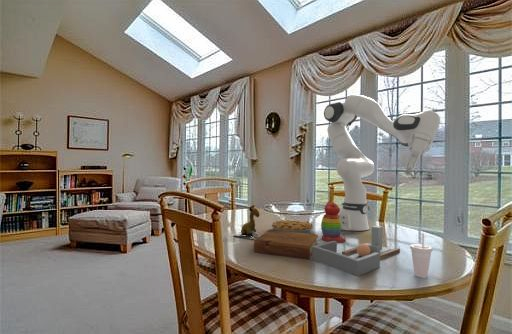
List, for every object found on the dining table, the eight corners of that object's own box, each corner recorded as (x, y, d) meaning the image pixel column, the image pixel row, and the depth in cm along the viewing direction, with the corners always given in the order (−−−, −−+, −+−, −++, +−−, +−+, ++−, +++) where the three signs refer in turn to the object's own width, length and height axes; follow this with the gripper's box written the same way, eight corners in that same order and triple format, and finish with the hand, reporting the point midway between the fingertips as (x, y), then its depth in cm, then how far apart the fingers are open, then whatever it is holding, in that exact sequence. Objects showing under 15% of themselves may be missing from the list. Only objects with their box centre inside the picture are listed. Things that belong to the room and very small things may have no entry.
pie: (317, 229, 158) (317, 220, 158) (307, 239, 138) (307, 228, 138) (279, 225, 167) (279, 216, 167) (265, 234, 147) (265, 224, 147)
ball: (354, 256, 113) (354, 243, 113) (361, 253, 116) (361, 241, 116) (365, 259, 109) (365, 246, 109) (372, 257, 112) (372, 244, 112)
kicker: (361, 251, 119) (361, 226, 118) (373, 247, 124) (373, 223, 124) (379, 256, 112) (379, 230, 112) (391, 251, 117) (391, 227, 117)
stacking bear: (347, 242, 132) (347, 203, 132) (326, 243, 131) (326, 204, 130) (337, 236, 143) (337, 200, 142) (317, 237, 141) (317, 201, 141)
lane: (341, 255, 114) (341, 251, 114) (373, 245, 127) (373, 242, 127) (369, 264, 105) (369, 259, 104) (399, 252, 118) (399, 248, 118)
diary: (254, 254, 118) (253, 240, 118) (269, 242, 135) (269, 229, 135) (309, 260, 109) (309, 245, 109) (318, 247, 127) (318, 234, 127)
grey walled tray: (311, 259, 110) (311, 246, 110) (333, 252, 117) (333, 240, 117) (357, 276, 94) (357, 261, 93) (379, 267, 101) (379, 253, 101)
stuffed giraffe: (256, 241, 135) (255, 207, 136) (225, 237, 145) (225, 205, 145) (272, 234, 149) (272, 204, 149) (243, 231, 158) (243, 202, 159)
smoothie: (435, 280, 90) (436, 236, 90) (413, 278, 92) (413, 235, 91) (427, 272, 97) (428, 231, 96) (407, 271, 98) (407, 230, 97)
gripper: (408, 151, 138) (398, 176, 135) (415, 131, 120) (403, 159, 117) (422, 155, 135) (412, 181, 132) (432, 135, 117) (420, 164, 114)
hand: (408, 171), depth 124 cm, fingers open, 8 cm apart
